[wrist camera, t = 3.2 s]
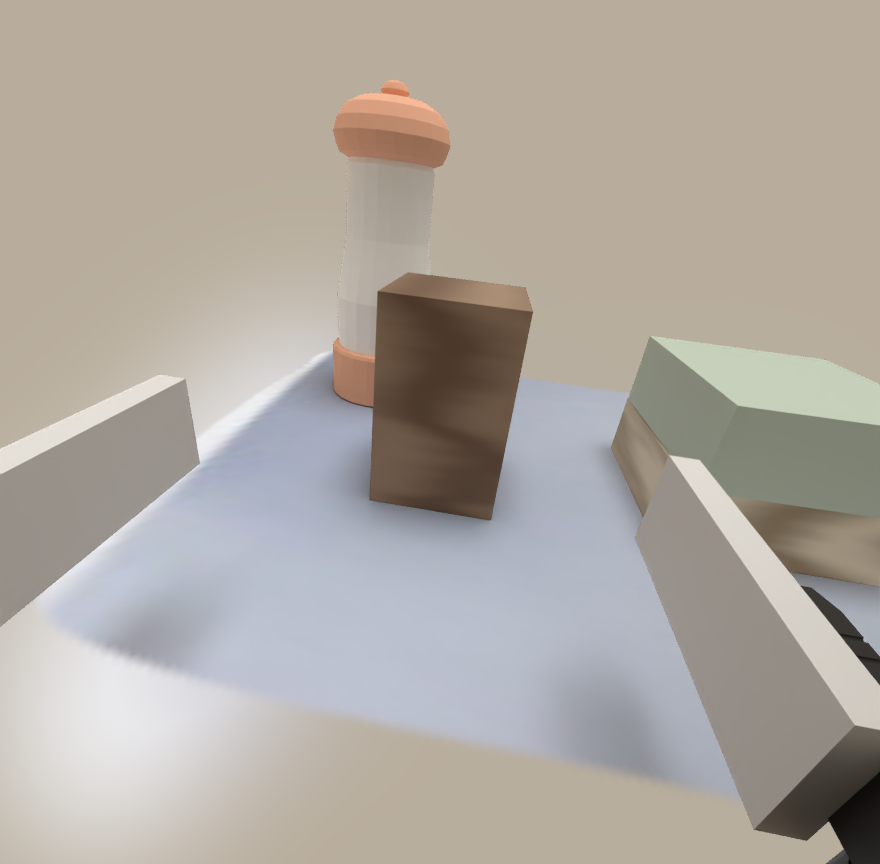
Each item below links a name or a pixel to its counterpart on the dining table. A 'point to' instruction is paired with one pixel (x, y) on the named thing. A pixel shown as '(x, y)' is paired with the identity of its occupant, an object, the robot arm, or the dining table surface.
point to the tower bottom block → (765, 515)
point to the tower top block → (766, 422)
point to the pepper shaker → (381, 217)
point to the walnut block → (445, 390)
